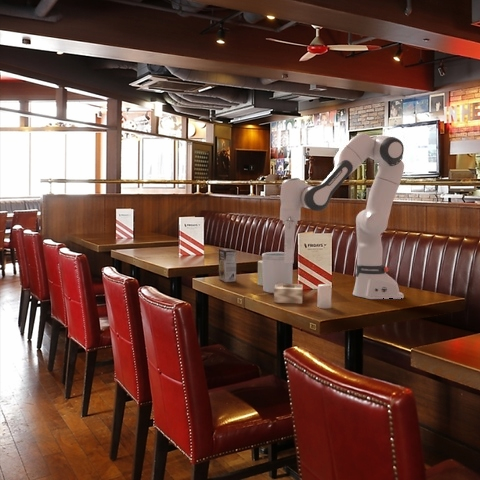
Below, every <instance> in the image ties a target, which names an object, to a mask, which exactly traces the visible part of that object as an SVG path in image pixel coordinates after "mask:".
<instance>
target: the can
mask: <svg viewBox="0 0 480 480" xmlns="http://www.w3.org/2000/svg"><path fill="white" fill-rule="evenodd" d="M256 285H258V286H262V287H263V264H262V259H261V260H258V261H257V284H256Z"/></svg>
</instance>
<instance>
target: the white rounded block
mask: <svg viewBox="0 0 480 480" xmlns="http://www.w3.org/2000/svg"><path fill="white" fill-rule="evenodd" d="M316 299H317V305H316V307H317V308H318V307H319V309H331V308H332V285H331V284H327V283H320V284H318V285H317V298H316Z"/></svg>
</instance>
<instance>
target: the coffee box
mask: <svg viewBox="0 0 480 480" xmlns="http://www.w3.org/2000/svg"><path fill="white" fill-rule="evenodd" d="M218 280H221V281H222V282H225V283H231V282H232V283H233V282H236V281H237V250H235V249H233V248H218Z"/></svg>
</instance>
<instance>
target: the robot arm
mask: <svg viewBox="0 0 480 480" xmlns="http://www.w3.org/2000/svg"><path fill="white" fill-rule="evenodd" d="M404 149H405V148H404V144H403V142H402V141H401V140H400V139H399V138H397V137H395V136H387V135H381V136H375V135H373V136H371V135H369V134H367V133H364V132H360V133H357V134H356V135H354V137H352V138H350V139H349V140H348V141H347V142H346V143H345V144H344V145H342V147H341V148H339V150H338V151H337V152H336V154H335V155H334V157H333V165H334V168H333V170H332V171H331V172H330V173H329V174H328V175H327V177H326V178H324V180H323V181H322V182H321V183H319V184H318V185H315V186H312V185H310V184H308V183H306V182H304V181H303V180H301V179H300V178H299V177H294V178H287V179H285V180H283V181H282V183H281V187H280V198H279V199H280V209H279V220H280V221H282V225H284V240H285V239H286V240H287V249H291V245H292V240H293V238H294V239H295V233H296V225H298V221H299V222H300V221H301V212H302V211H301V210H302V207H303V208H305V209H309V210H312V211H314V212H315V211H316V212H320V211H323V210H325V209H326V208H327V207H328V205H329V203H330V201H331V200H332V196H333V195H334V193H335V192H336V191H337V190H338V189H339V187H340V186H341V185H342V184H343V183H344V182H345V180H347V178H348V177H349V176H350V175H351V174H352V173H354V172H355V170H357V169H358V168H359V167H360V166H361V165H362V164H363V163H364V162H365V161H366V160H367V159H369V160H371V161H375V162H378V170H377V171H376V175H375V177H374V179H373V183H372V185H371V186H370V190H369V192H368V199H367V201H366V206H365V209H362V210H361V211H359V213H357V215H356V217H355V224H356V226H355V228H356V229H355V230H356V231H355V232H356V241H357V243H356V244H357V259H356V263H355V265H356V266H355V276H356V277H355V284H354V287H353V292H352V295H353V296H354V297H355V296H356V297H359V298H365V299H367V300H390V299H389V298H393V299H392V300H401V298H402V299H404V298H405V296H404V293H403V292H400V289H399V284H398V282H397V280H395V279H394V278H393V277H391V276H390V275H389V274H388V272H389V270H390V269H389V267H388V266H385V265H384V264H383V252H384V250H383V249H384V247H383V242H382V235H381V234H382V233H384V232H385V231H387V227H388V226H389V225H388V224H389V223H388V221H389V218H390V216H391V215H390V214H391V210H392V205H393V202H394V200H395V197H396V195H397V192H398V190H399V187H400V184H401V181H402V179H403V175H404V169H405V164H404V162H403V161H402V160H403V156H404ZM383 298H384V299H383Z"/></svg>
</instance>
